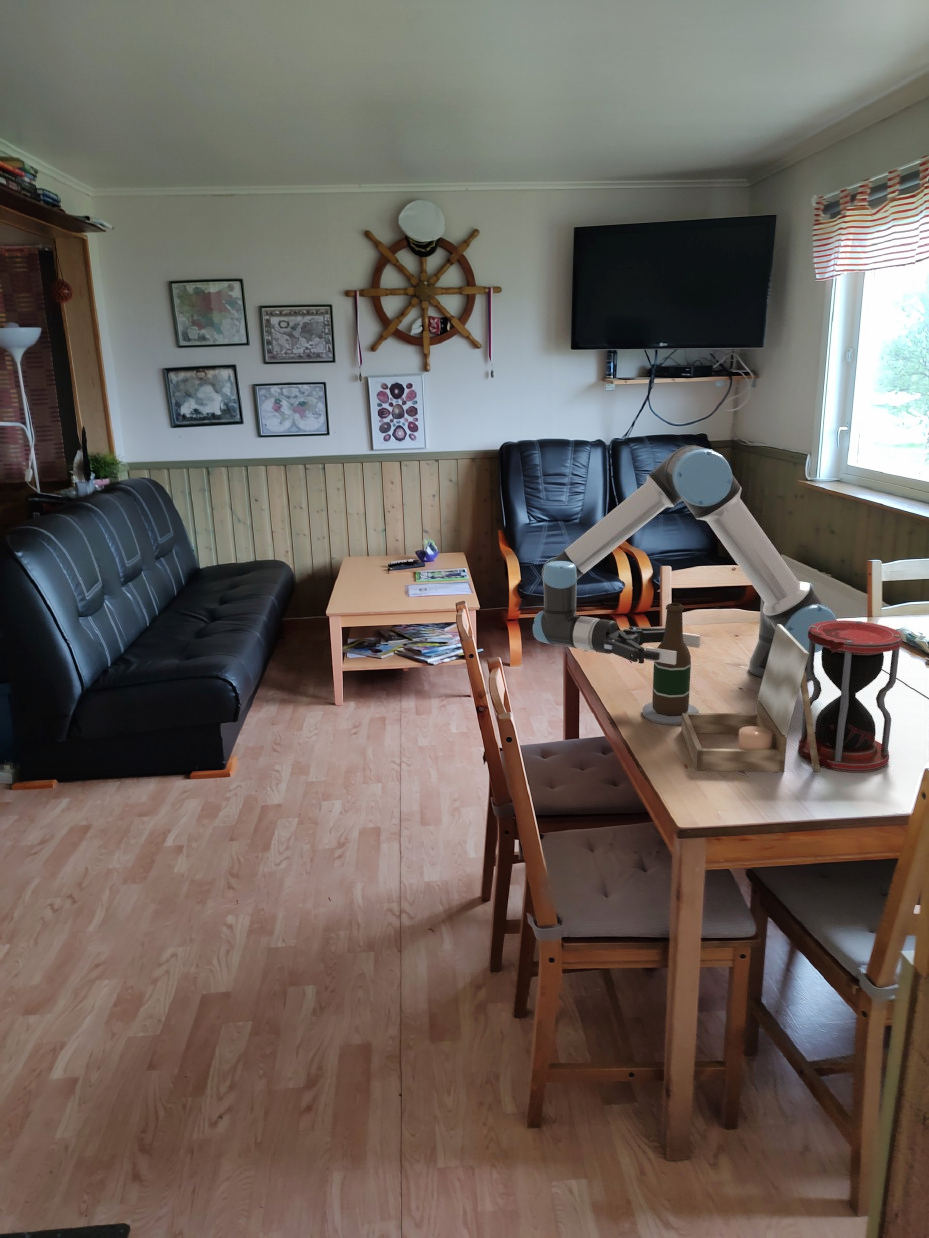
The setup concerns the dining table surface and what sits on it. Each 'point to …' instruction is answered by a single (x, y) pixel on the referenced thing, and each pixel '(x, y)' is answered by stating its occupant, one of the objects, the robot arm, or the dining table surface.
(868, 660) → the hourglass
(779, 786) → the dining table surface
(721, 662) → the dining table surface
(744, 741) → the tan rounded block
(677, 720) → the coaster
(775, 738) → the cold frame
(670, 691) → the beer bottle
